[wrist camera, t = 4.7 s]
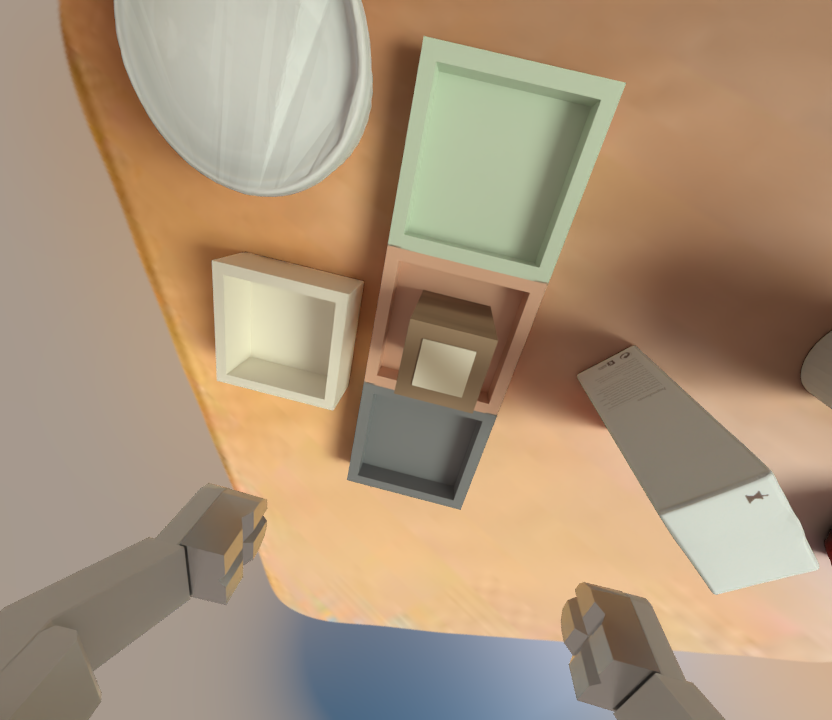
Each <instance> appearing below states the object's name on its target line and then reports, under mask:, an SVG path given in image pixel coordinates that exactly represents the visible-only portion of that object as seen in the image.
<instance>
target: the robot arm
mask: <svg viewBox="0 0 832 720" xmlns="http://www.w3.org/2000/svg"><path fill="white" fill-rule="evenodd" d="M266 510H267V499H263V498H260V497H257V496H253V495H250V494H246V493H243V492H239V491H236V490H232V489H229V488H226V487H221V486H217V485H214V484H210V483H208V484H206V485H205V486H203V487H202V488H201V489H200V490H199V491H198V492H197V493H196V494H195V495H194V496H193V497H192V499H191V500H190V501H189V502H188V503H187V504H186V505H185V506H184V507H183V508H182V509H181V511H180V512H179V513H178V514H177V515H176V516H175V517H174V518H173V519H172V520H171V522H170V523H169V524H168V525H167V526H166V527H165V528H164V529H163V530H162V531H161V533H160V534H159V535H158V536H157V537H156V538H150V537H148V538H146V539H144V540H142V541H140V542H138V543H136V544H134V545H132V546H130V547H127V548H125V549H123V550H122V551H119V552H117V553H115V554H113V555H111V556H109V557H107V558H105V559H103V560H101V561H99V562H97V563H95V564H93V565H91V566H89V567H86V568H84V569H82V570H80V571H78V572H76V573H74V574H72V575H70V576H68V577H66V578H64V579H62V580H60V581H58V582H56V583H53V584H51V585H49V586H47V587H45V588H44V589H41V590H39V591H37V592H35V593H33V594H31V595H29V596H27V597H25V598H23V599H21V600H18V601H17V602H14V603H12V604H10V605H8V606H6V607H4V608H3V609H2V610H1V611H0V720H89V718H90V717H91V715H92V714H93V713H94V711H95V710H96V708H97V707H98V705H99V704H100V703H101V690H100V688H99V685H98V683H97V680H96V678H95V675H94V673H93V671H94V670H95V669H97V668H98V667H100V666H101V665H102V664H104V663H105V662H106V661H108V660H109V659H110V658H111V657H113V656H114V655H116V654H117V653H118V652H120V651H121V650H123V649H124V648H125V647H126V646H128V645H129V644H131V643H132V642H133V641H134V640H136V639H137V638H139V637H140V636H141V635H143V634H144V633H145V632H147V631H148V630H149V629H151V628H152V627H153V626H155V625H156V624H157V623H159V622H160V621H162V620H163V619H164V618H166V617H167V616H168V615H170V614H171V613H172V612H174V611H175V610H176V609H178V608H179V607H180V606H182V605H183V604H184V603H186V602H187V601H188V600H190V597H195V598H199V599H203V600H207V601H211V602H216V603H220V604H224V605H226V604H227V603H228V601H229V600H230V598H231V596H232V594H233V593H234V591H235V589H236V588H237V586H238V584H239V583H240V581H241V579H242V578H243V565H245V564H247V563H248V562H249V561H251V560H253V559H254V557H255V555H256V553H257V552H258V550H259V548H260V546H261V543H262V541H263V538H264V536H265V531H266V527H267V520H266V519H265V517H264V516H263V515H264V513H265V511H266ZM575 592H576V596H577V597H575V598H572V599H570V600H568V601H567V602H566V604H565V606H564V607H563V610H562V616H561V630H562V635H563V640H564V643H565V645H566V646H567V648H568V649H569V650H570V652H571V653H572V655H573V656H572V659H571V661H570V663H569V667H570V671H571V676H572V680H573V685H574V689H575V694H576V698H577V700H578V701H582V702H585V703H588V704H591V705H595V706H598V707H601V708H604V709H608V710H611V711H614V712H615V713H614V715H615V717H616V719H617V720H725V719H724V717H722V715H721V714H720V713H719V712H718V711H717V710H716V708H715V707H714V706H713V705H712V704H711V703H710V702H709V700H708V699H707V698H706V697H705V696H704V695H703V694H702V693H701V691H700V690H699V689H698V688H697V687H696V686H695V685H694V684H693V683H691V682H688V681H686V679H685V677H684V675H683V673H682V671H681V668H680V666H679V664H678V662H677V660H676V657H675V656H674V653H673V651H672V649H671V647H670V644H669V642H668V640H667V638H666V636H665V634H664V631H663V629H662V627H661V625H660V623H659V621H658V618H657V616H656V614H655V612H654V610H653V607H652V606H651V604H650V603H649V602H648V600H647V599H646V598H643V597H639V596H635V595H631V594H627V593H623V592H622V591H618V590H614V589H610V588H606V587H602V586H598V585H594V584H590V583H585V582H583V583H580V584H579V585H578V586H577V588H576V589H575Z"/></svg>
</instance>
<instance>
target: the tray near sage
mask: <svg viewBox="0 0 832 720" xmlns="http://www.w3.org/2000/svg"><path fill="white" fill-rule="evenodd" d="M625 84H626V83H624V82H620V81H616V80H611V79H607V78H603V77H598V76H594V75H590V74H585V73H581V72H577V71H573V70H568V69H564V68H560V67H555V66H551V65H547V64H542V63H538V62H534V61H529V60H525V59H521V58H516V57H512V56H508V55H504V54H499V53H495V52H491V51H486V50H482V49H478V48H473V47H469V46H465V45H460V44H456V43H452V42H447V41H443V40H439V39H434V38H430V37H426V36H424V38H423V44H422V49H421V55H420V61H419V67H418V73H417V78H416V84H415V90H414V96H413V102H412V107H411V113H410V119H409V125H408V130H407V136H406V142H405V148H404V154H403V159H402V165H401V171H400V177H399V183H398V188H397V194H396V200H395V206H394V211H393V217H392V223H391V229H390V235H389V240H388V245H389V246H391V245H392V246H393V245H396V246H394V247H397V248H398V247H400V248H401V249H405V250H409V251H413V252H417V253H421V254H425V255H429V256H433V257H437V258H441V259H445V260H450V261H454V262H458V263H462V264H466V265H470V266H474V267H478V268H482V269H486V270H490V271H494V272H498V273H502V274H506V275H510V276H515V277H519V278H523V279H527V280H531V281H535V282H536V281H537V282H540V281H541V283H543V284H545V283H546V284H548V283H549V280H550V278H551V275H552V273H553V270H554V267H555V265H556V262H557V260H558V257H559V255H560V252H561V249H562V247H563V244H564V242H565V239H566V237H567V234H568V231H569V229H570V226H571V224H572V221H573V218H574V216H575V213H576V211H577V208H578V206H579V203H580V200H581V198H582V195H583V193H584V190H585V188H586V185H587V182H588V180H589V177H590V175H591V172H592V169H593V167H594V164H595V162H596V159H597V157H598V154H599V151H600V149H601V146H602V144H603V141H604V139H605V136H606V133H607V131H608V128H609V126H610V123H611V121H612V118H613V115H614V113H615V110H616V108H617V105H618V102H619V100H620V97H621V95H622V92H623V90H624V87H625ZM544 282H545V283H544Z"/></svg>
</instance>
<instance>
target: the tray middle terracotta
mask: <svg viewBox="0 0 832 720" xmlns="http://www.w3.org/2000/svg"><path fill="white" fill-rule="evenodd" d="M394 246H396V245H393V246H392V245H391V246H389V245H388V246H387V252H386V258H385V263H384V269H383V275H382V281H381V287H380V292H379V298H378V304H377V310H376V316H375V321H374V327H373V333H372V339H371V344H370V350H369V356H368V362H367V368H366V373H365V379H364V381H366V383H368V382H369V383H371V384H372V385H376V386H380V387H384V388H388V389H392V390H395V386H396V382H397V377H398V373H399V367H400V363H401V358H402V354H403V349H404V345H405V340H406V336H407V331H408V327H409V323H410V319H411V316H412V314H413V312H414V310H415V307H416V305H417V303H418V301H419V298H420V296H421V294H422V292H423V290H426V291H430V292H434V293H438V294H443V295H447V296H451V297H455V298H459V299H463V300H467V301H471V302H475V303H479V304H483V305H487V306H491V311H492V315H493V320H494V324H495V329H496V334H497V338H498V342H497V345H496V348H495V351H494V354H493V357H492V360H491V362H490V365H489V368H488V371H487V374H486V377H485V380H484V382H483V385H482V388H481V391H480V394H479V397H478V400H477V403H476V405H475V408H474V411H478V412H482V413H486V412H487V413H486V414H488V413H491V414H495V415H497V414H498V412H499V409H500V407H501V404H502V401H503V399H504V396H505V394H506V391H507V389H508V386H509V383H510V381H511V378H512V376H513V373H514V371H515V368H516V365H517V363H518V360H519V358H520V355H521V352H522V350H523V347H524V345H525V342H526V340H527V337H528V334H529V332H530V329H531V327H532V324H533V322H534V319H535V316H536V314H537V311H538V309H539V306H540V304H541V301H542V298H543V296H544V293H545V291H546V288H547V285H548V284H546V283H545V282H544V283H545V284H543V283H541V281H540V282H537V281H536V282H535V281H531V280H527V279H523V278H519V277H515V276H510V275H506V274H502V273H498V272H494V271H490V270H486V269H482V268H478V267H474V266H470V265H466V264H462V263H458V262H454V261H450V260H445V259H441V258H437V257H433V256H429V255H425V254H421V253H417V252H413V251H409V250H405V249H401V248H400V247H398V248H397V247H394ZM369 383H368V384H369Z"/></svg>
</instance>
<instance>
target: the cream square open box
mask: <svg viewBox="0 0 832 720" xmlns="http://www.w3.org/2000/svg"><path fill="white" fill-rule="evenodd" d="M212 278H213V301H214V324H215V347H216V369H217V381H220V382H224V383H228V384H232V385H236V386H240V387H244V388H248V389H251V390H255V391H259V392H263V393H267V394H271V395H275V396H279V397H282V398H286V399H290V400H294V401H298V402H302V403H306V404H310V405H313V406H317V407H321V408H325V409H329V410H334V409H335V407H336V405H337V404H338V402H339V401H340V399H341V397H342V396H343V394H344V392H345V391H346V389H347V388H348V386H349V379H350V373H351V366H352V359H353V353H354V346H355V339H356V333H357V326H358V320H359V313H360V306H361V300H362V293H363V286H364V281H361V280H357V279H353V278H349V277H345V276H341V275H337V274H333V273H329V272H325V271H321V270H317V269H313V268H309V267H305V266H301V265H297V264H293V263H289V262H285V261H281V260H277V259H273V258H268V257H264V256H260V255H256V254H252V253H248V252H242V253H238V254H234V255H230V256H226V257H222V258H218V259H215V260H212Z"/></svg>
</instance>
